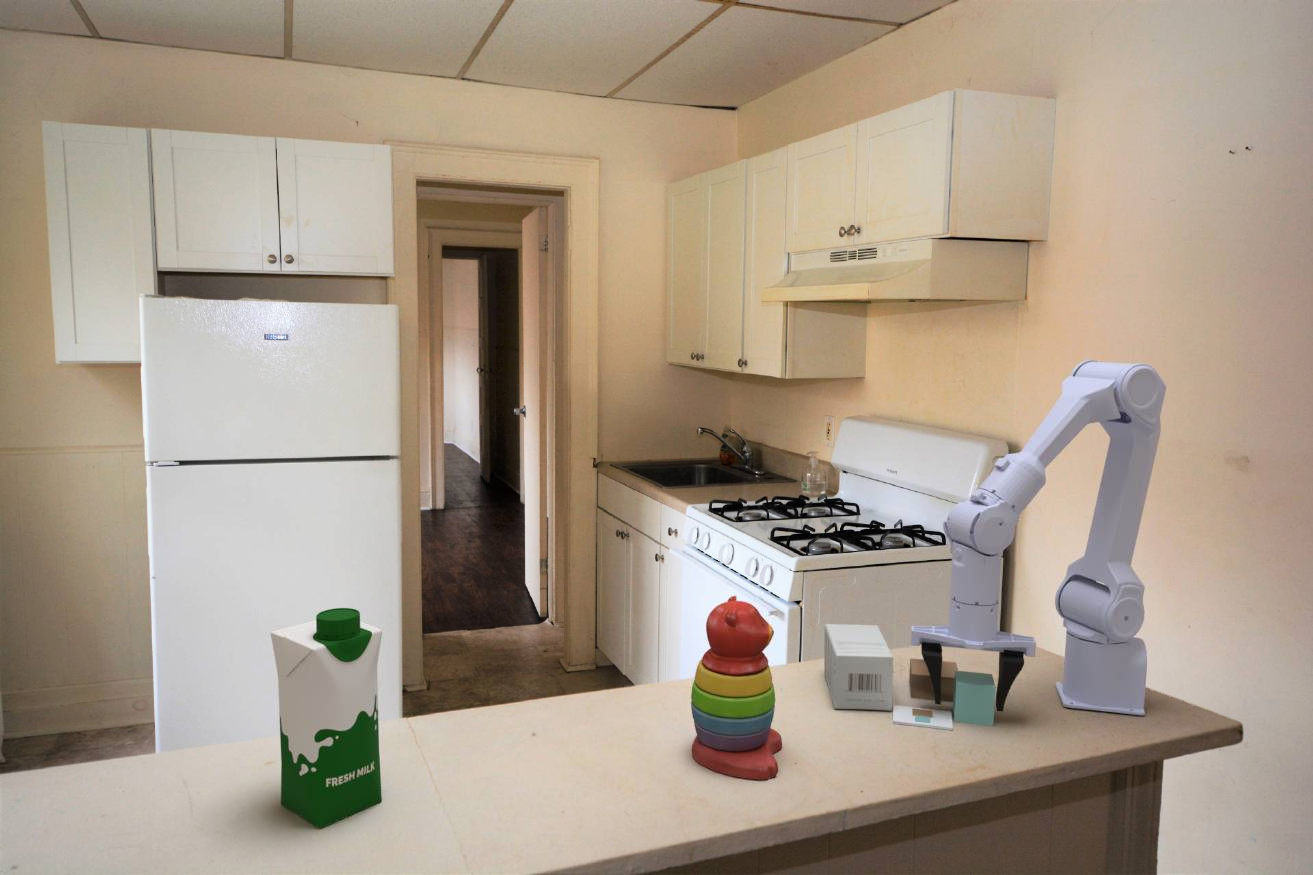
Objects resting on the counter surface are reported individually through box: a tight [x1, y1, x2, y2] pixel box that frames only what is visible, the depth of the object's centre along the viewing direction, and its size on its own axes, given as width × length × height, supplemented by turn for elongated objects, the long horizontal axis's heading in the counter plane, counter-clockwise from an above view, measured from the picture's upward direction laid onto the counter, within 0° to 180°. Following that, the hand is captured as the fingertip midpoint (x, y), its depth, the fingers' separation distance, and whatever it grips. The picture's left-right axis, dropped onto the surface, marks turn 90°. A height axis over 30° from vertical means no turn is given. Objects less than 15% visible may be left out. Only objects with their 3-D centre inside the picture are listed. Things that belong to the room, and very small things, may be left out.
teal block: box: [952, 670, 996, 727], centre depth 117 cm, size 4×4×5 cm
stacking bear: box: [690, 595, 783, 780], centre depth 105 cm, size 11×10×18 cm
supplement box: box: [823, 623, 894, 712], centre depth 125 cm, size 7×7×13 cm
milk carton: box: [270, 607, 383, 829], centre depth 93 cm, size 9×9×20 cm
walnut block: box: [908, 657, 959, 703], centre depth 125 cm, size 6×6×4 cm
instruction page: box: [892, 704, 954, 731], centre depth 117 cm, size 7×5×1 cm
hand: (968, 704), depth 118 cm, fingers open, 7 cm apart
